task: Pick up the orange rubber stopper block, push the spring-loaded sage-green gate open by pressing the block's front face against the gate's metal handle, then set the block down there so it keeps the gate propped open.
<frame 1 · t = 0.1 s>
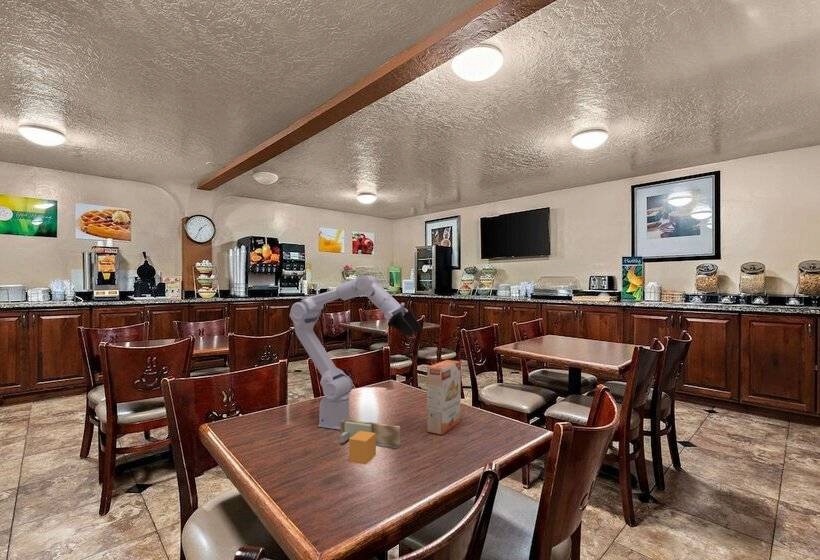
hand: (415, 332, 118), 32 cm above the table, tool tilted 50°, fingers open, 7 cm apart
sliding gate: (355, 433, 113), point 3 cm above the table, slide at 0.0 cm
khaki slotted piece: (373, 444, 112), on the table
stopper block: (362, 458, 103), on the table
cracker box: (444, 427, 125), on the table
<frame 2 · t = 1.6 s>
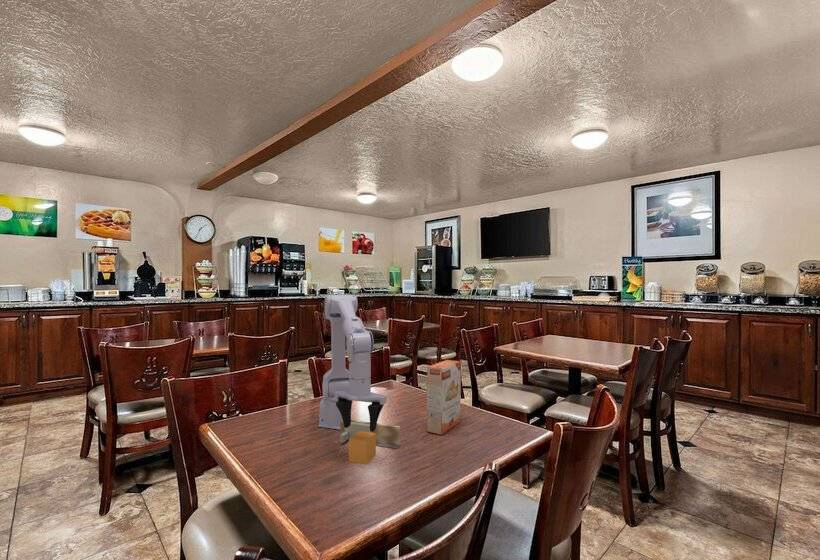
hand: (360, 428, 102), 8 cm above the table, tool pointing down, fingers open, 7 cm apart
nothing on the table moved.
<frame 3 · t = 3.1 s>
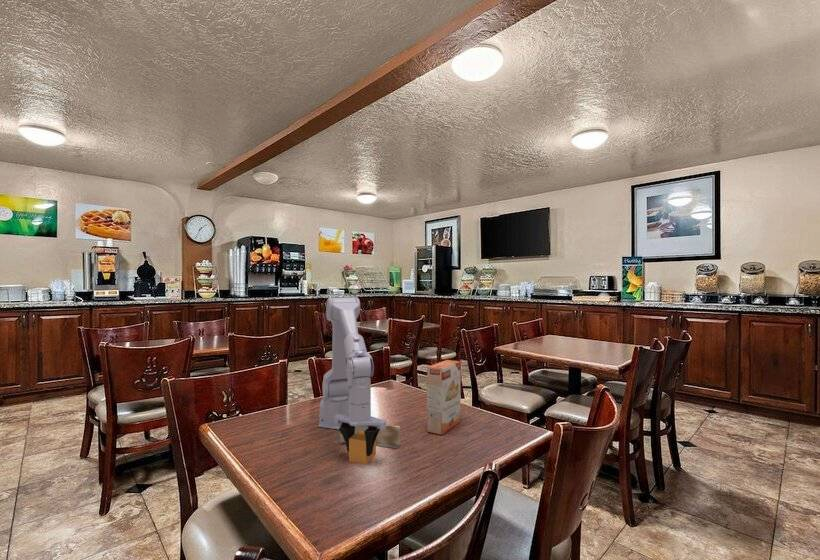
hand: (360, 452, 102), 2 cm above the table, tool pointing down, fingers closed on stopper block, 5 cm apart
stopper block: (362, 457, 103), on the table, touching gripper
everything else where it was.
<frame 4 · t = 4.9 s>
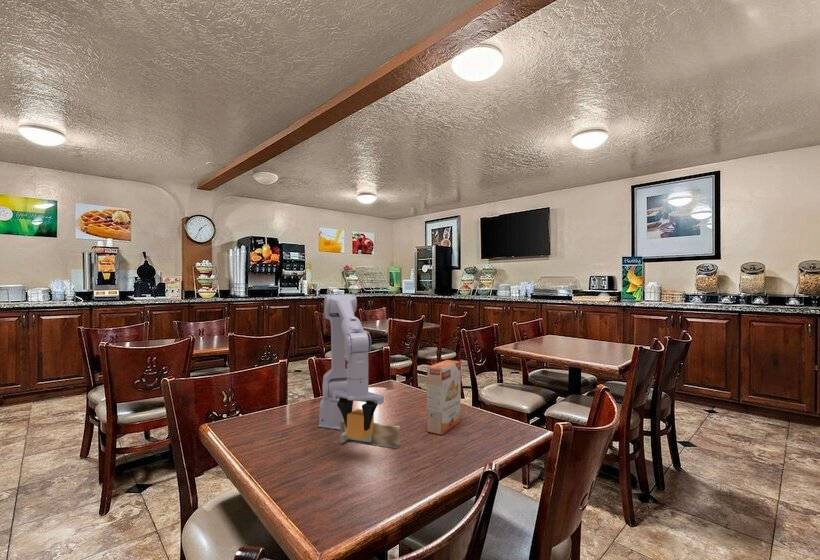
hand: (357, 427, 103), 8 cm above the table, tool pointing down, fingers closed on stopper block, 5 cm apart
stopper block: (359, 434, 104), point 6 cm above the table, tilted 5°, touching gripper
everything else where it was.
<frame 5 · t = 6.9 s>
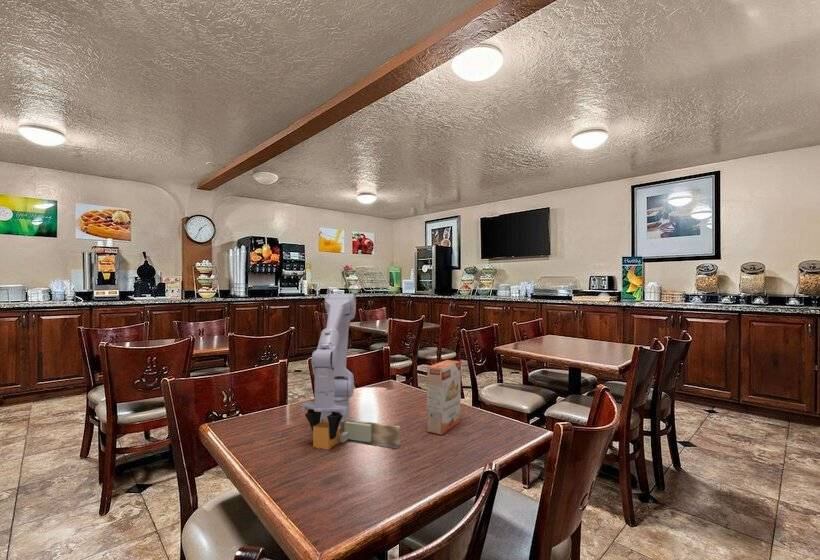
hand: (324, 436, 111), 2 cm above the table, tool pointing down, fingers closed on stopper block, 5 cm apart
stopper block: (326, 444, 112), on the table, touching gripper
everything else where it was.
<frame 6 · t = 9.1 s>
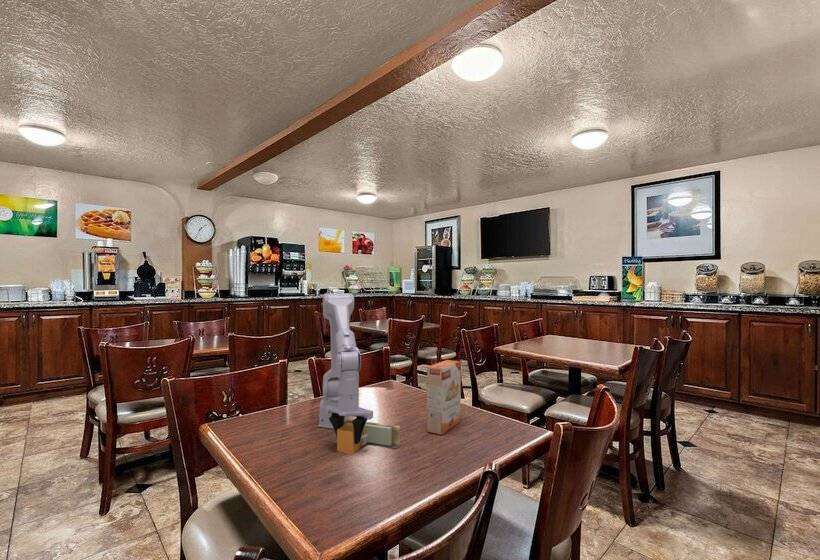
hand: (348, 441, 109), 2 cm above the table, tool pointing down, fingers closed on stopper block, 5 cm apart
sliding gate: (375, 436, 110), point 3 cm above the table, slide at 6.5 cm, touching stopper block
stopper block: (350, 448, 110), on the table, touching gripper, sliding gate
everything else where it was.
when the fingers open (2 cm above the table, at t = 9.8 s): stopper block stays where it is, on the table.
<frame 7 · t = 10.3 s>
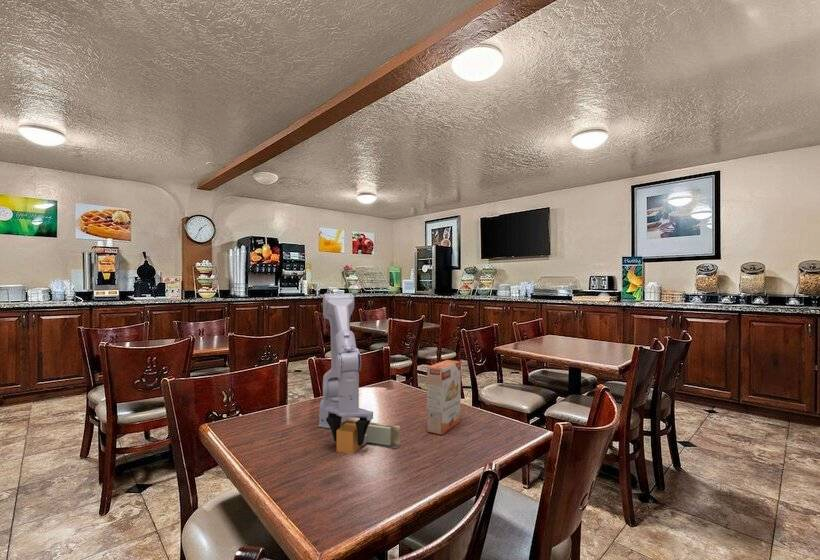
hand: (348, 442, 109), 2 cm above the table, tool pointing down, fingers open, 7 cm apart
sliding gate: (374, 436, 110), point 3 cm above the table, slide at 6.3 cm
stopper block: (349, 448, 110), on the table
everything else where it was.
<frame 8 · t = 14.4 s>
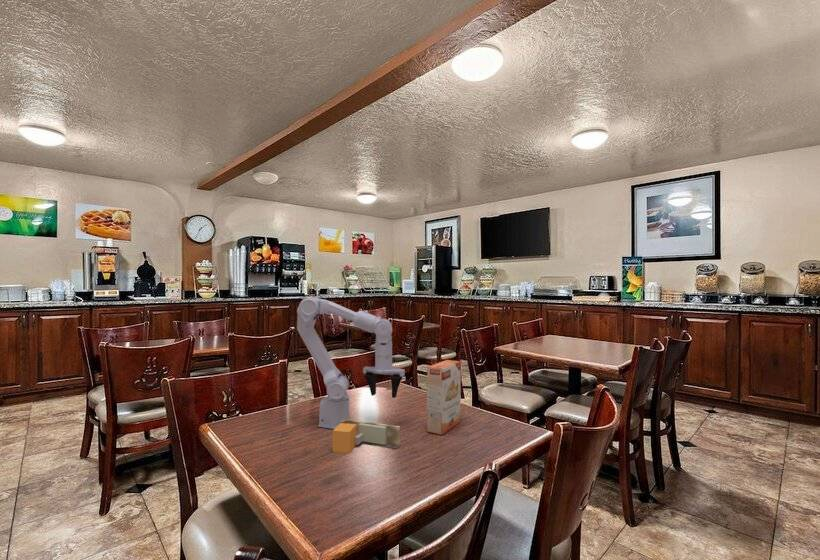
hand: (383, 395, 129), 9 cm above the table, tool pointing down, fingers open, 7 cm apart
sliding gate: (370, 435, 111), point 3 cm above the table, slide at 4.8 cm
stopper block: (344, 448, 110), on the table
everything else where it was.
at the end: sliding gate slide at 4.8 cm; stopper block inside the target area (1.4 cm from its centre), on the table; stopper block tilted 0° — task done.
